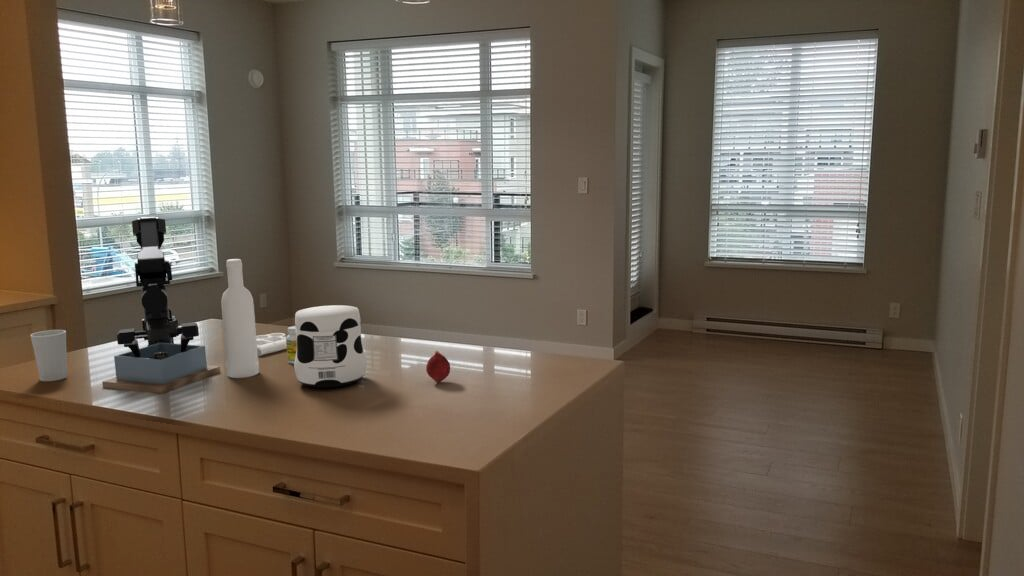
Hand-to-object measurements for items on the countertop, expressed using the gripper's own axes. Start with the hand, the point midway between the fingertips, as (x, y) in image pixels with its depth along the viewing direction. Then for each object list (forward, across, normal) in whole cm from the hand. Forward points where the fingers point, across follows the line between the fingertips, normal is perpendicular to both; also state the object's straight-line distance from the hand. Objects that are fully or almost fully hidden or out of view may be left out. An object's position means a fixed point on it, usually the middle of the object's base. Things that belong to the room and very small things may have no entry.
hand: (161, 366), depth 201 cm
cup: (+4, -26, +16) cm, 31 cm away
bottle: (+4, +19, -5) cm, 20 cm away
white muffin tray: (+4, +27, +21) cm, 35 cm away
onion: (+4, +62, -38) cm, 72 cm away
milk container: (+4, +38, -24) cm, 45 cm away
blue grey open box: (+2, -1, +1) cm, 2 cm away
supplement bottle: (+4, +34, +1) cm, 34 cm away
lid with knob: (+2, 0, 0) cm, 2 cm away
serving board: (+4, 0, 0) cm, 4 cm away
